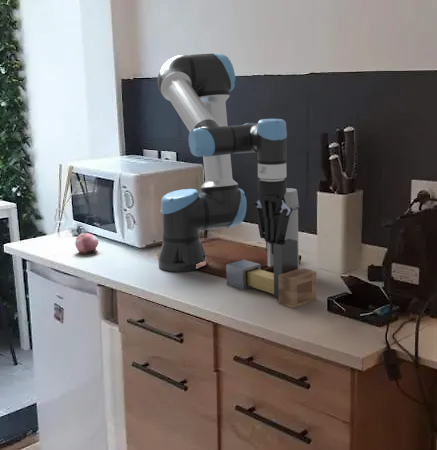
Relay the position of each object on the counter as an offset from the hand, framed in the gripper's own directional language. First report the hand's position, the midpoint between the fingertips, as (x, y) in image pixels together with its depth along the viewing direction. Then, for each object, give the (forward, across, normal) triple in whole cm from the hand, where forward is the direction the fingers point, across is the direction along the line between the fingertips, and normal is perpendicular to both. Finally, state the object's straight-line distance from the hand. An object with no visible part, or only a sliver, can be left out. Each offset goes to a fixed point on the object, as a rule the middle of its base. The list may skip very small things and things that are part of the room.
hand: (272, 265), depth 193 cm
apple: (+10, -76, -13) cm, 78 cm away
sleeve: (+8, -12, 0) cm, 14 cm away
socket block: (+8, +9, 0) cm, 12 cm away
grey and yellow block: (+7, 0, 0) cm, 7 cm away
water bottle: (+8, -11, +17) cm, 22 cm away
